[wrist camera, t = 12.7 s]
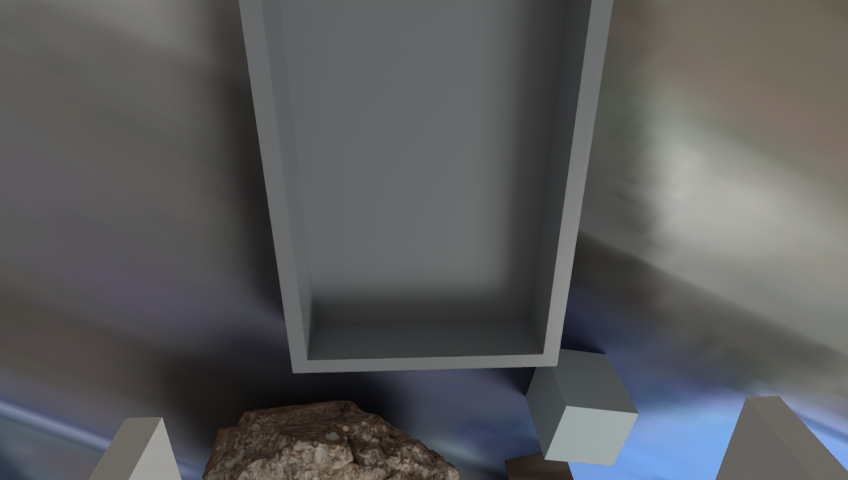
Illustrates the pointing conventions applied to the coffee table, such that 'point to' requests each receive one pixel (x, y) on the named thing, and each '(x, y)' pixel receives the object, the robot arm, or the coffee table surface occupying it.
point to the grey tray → (424, 174)
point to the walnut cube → (537, 468)
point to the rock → (321, 447)
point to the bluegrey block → (580, 409)
